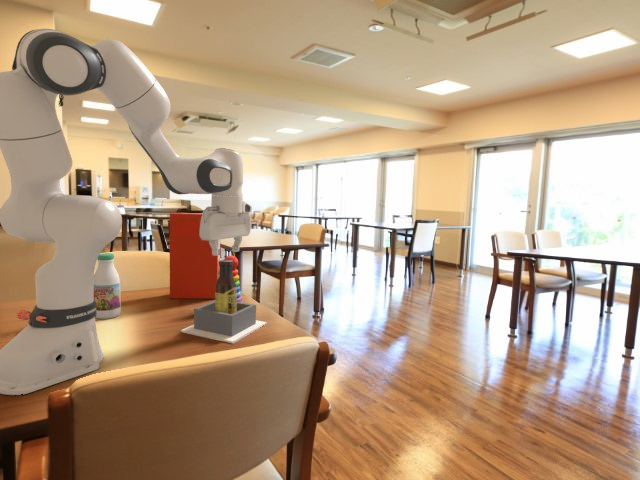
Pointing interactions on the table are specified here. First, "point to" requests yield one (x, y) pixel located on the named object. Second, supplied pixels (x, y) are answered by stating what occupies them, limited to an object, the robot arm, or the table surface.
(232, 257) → the stacking toy
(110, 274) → the milk bottle
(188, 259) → the tall red box
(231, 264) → the sauce bottle
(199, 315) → the mount collar
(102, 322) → the table surface
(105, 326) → the table surface
